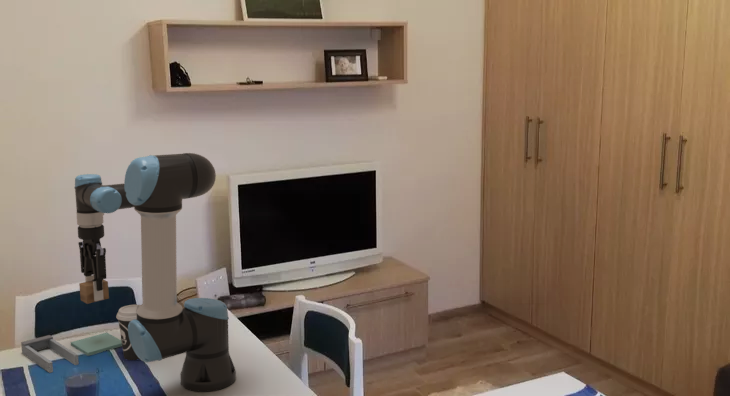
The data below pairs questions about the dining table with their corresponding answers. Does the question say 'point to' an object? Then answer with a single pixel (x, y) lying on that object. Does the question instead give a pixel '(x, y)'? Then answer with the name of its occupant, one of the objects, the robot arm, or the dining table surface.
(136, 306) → the coffee cup
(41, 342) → the grey channel
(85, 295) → the walnut block
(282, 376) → the dining table surface
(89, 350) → the teal coaster
